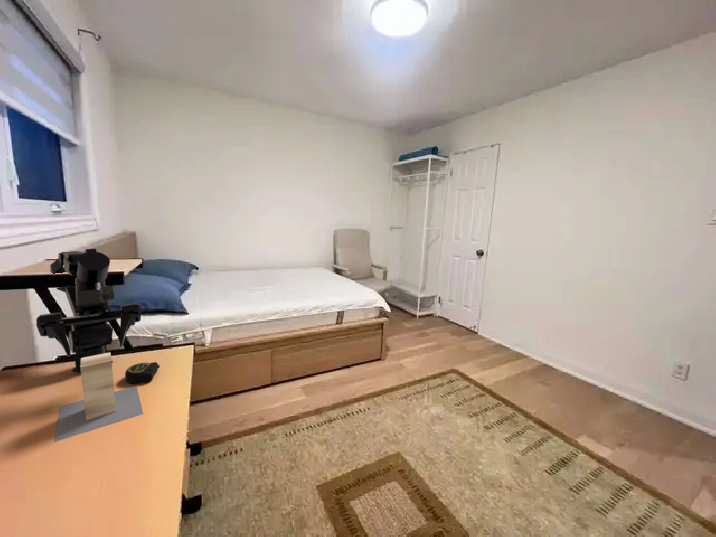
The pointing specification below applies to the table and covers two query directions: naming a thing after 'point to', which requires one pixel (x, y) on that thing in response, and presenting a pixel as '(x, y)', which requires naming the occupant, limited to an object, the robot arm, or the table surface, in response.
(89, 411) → the birch block
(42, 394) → the table surface
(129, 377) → the tape measure
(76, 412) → the slate tile
